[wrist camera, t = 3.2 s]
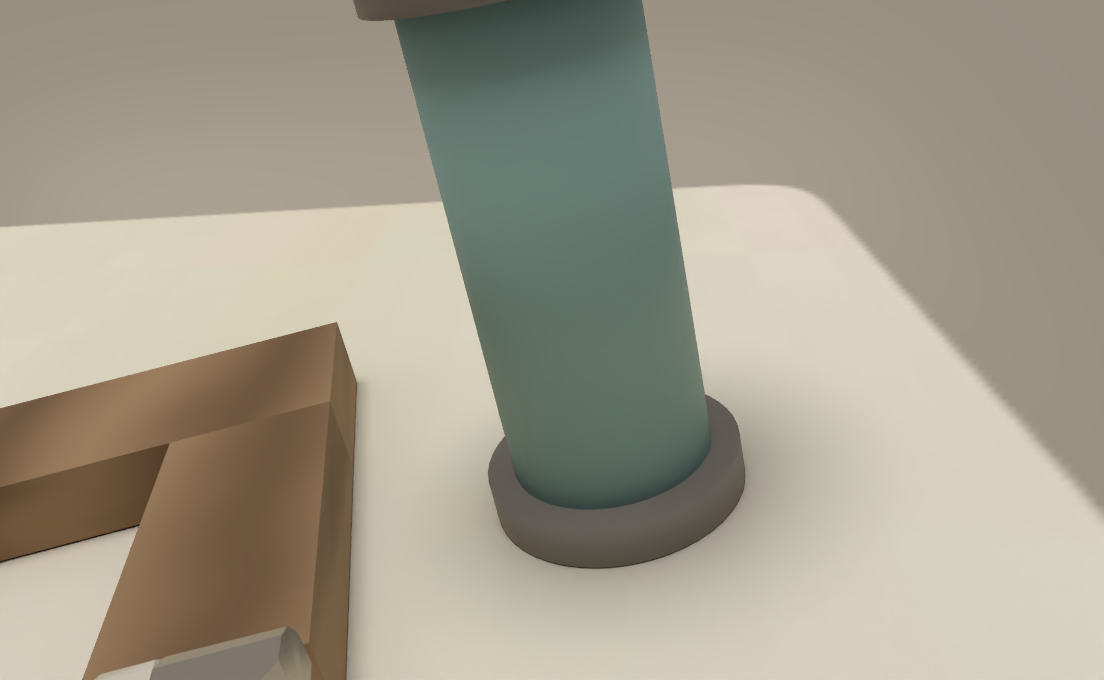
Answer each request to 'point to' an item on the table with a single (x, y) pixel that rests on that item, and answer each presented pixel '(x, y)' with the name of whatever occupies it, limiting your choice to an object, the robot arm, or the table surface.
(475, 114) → the bobbin
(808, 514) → the table surface
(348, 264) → the table surface
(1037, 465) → the table surface
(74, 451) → the notched board
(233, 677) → the robot arm
